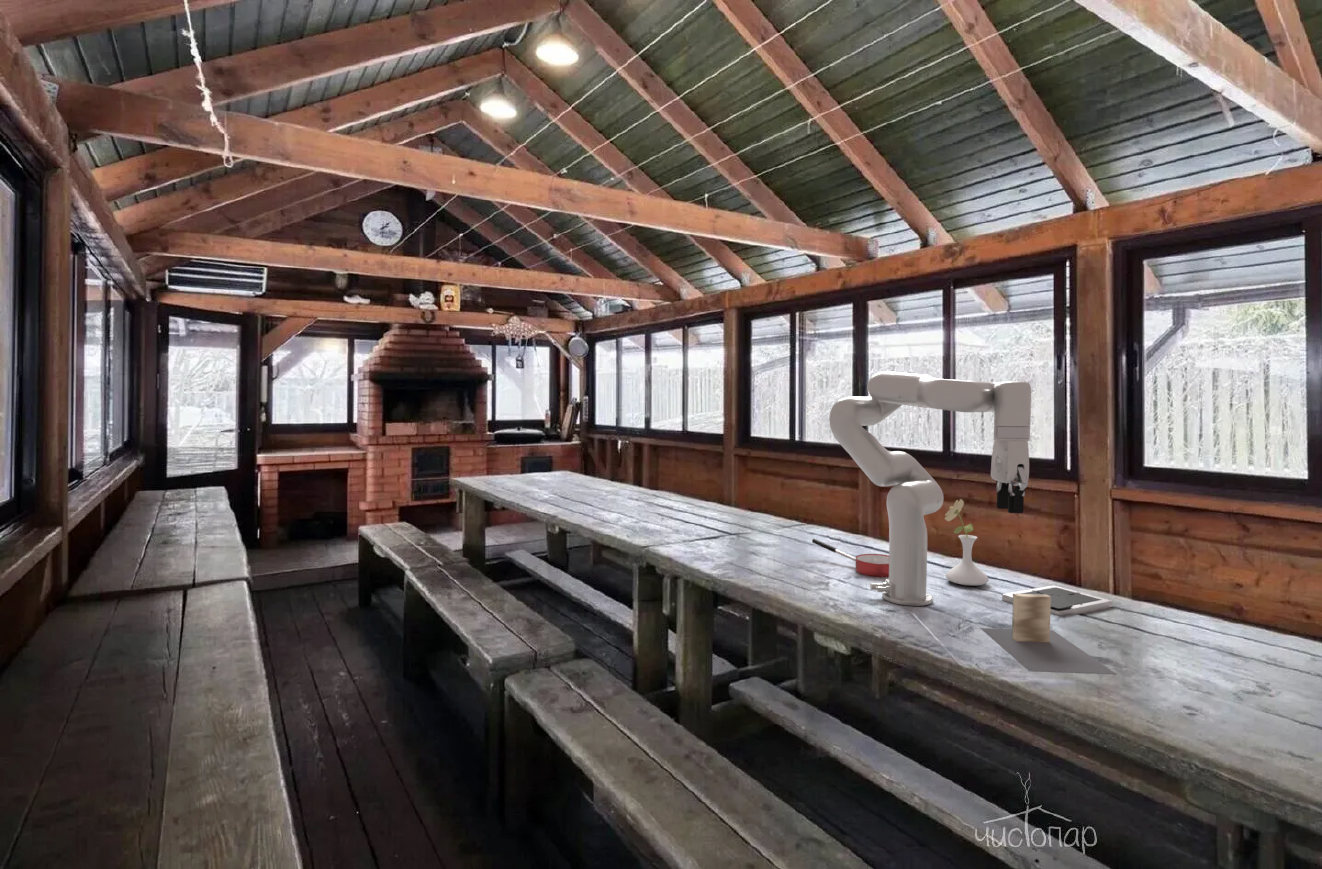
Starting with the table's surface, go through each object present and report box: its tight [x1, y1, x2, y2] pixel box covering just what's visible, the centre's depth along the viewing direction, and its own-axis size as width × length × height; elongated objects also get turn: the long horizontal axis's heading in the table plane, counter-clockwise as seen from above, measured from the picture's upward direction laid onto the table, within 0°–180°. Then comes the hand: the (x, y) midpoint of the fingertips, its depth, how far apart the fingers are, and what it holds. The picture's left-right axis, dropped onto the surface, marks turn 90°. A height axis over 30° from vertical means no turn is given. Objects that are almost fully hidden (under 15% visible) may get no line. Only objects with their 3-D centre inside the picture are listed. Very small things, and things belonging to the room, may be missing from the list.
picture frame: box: [1001, 584, 1113, 616], centre depth 170 cm, size 16×3×21 cm
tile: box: [1011, 594, 1051, 642], centre depth 142 cm, size 7×2×10 cm, turn 85°
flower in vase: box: [944, 498, 989, 587], centre depth 188 cm, size 13×11×25 cm
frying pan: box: [811, 538, 889, 579], centre depth 208 cm, size 32×13×6 cm, turn 42°
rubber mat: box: [980, 627, 1117, 675], centre depth 137 cm, size 16×24×1 cm, turn 175°
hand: (1009, 509), depth 153 cm, fingers open, 5 cm apart
